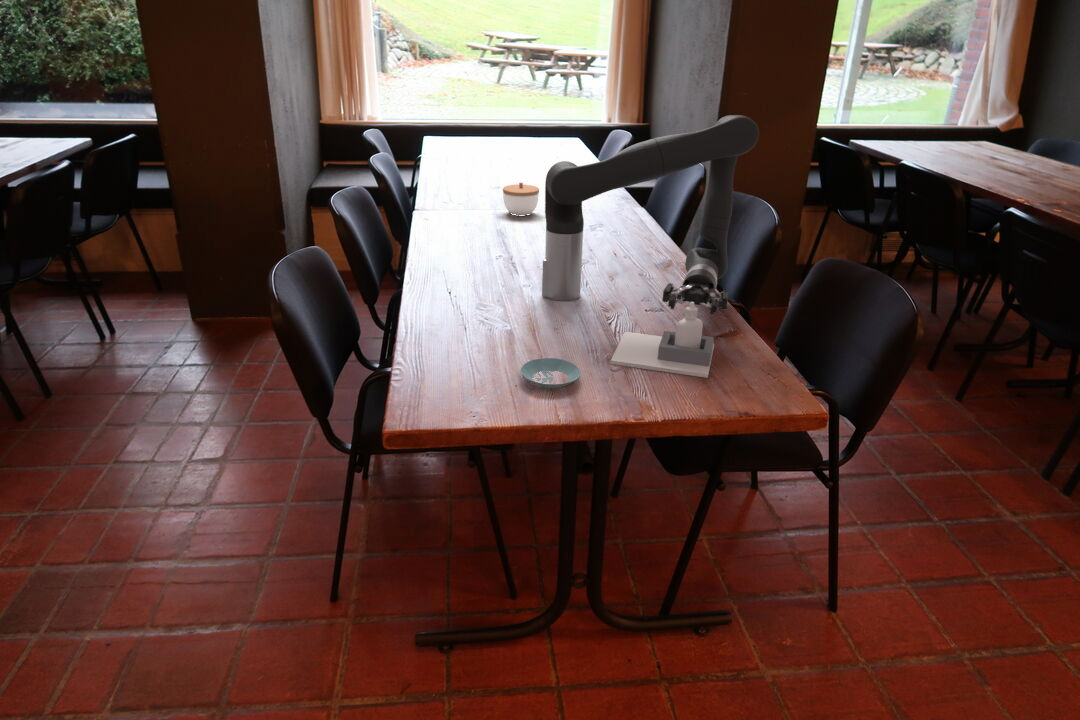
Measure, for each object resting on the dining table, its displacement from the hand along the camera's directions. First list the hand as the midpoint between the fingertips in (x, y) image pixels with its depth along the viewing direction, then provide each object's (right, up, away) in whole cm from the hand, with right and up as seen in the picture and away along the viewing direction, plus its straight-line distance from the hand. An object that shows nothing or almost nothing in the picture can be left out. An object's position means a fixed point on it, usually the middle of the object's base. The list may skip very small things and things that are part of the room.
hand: (692, 307), depth 163 cm
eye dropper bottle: (-2, -11, -3) cm, 11 cm away
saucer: (-31, -16, -13) cm, 37 cm away
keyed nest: (-6, -10, -1) cm, 12 cm away
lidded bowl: (-40, +40, +103) cm, 118 cm away
